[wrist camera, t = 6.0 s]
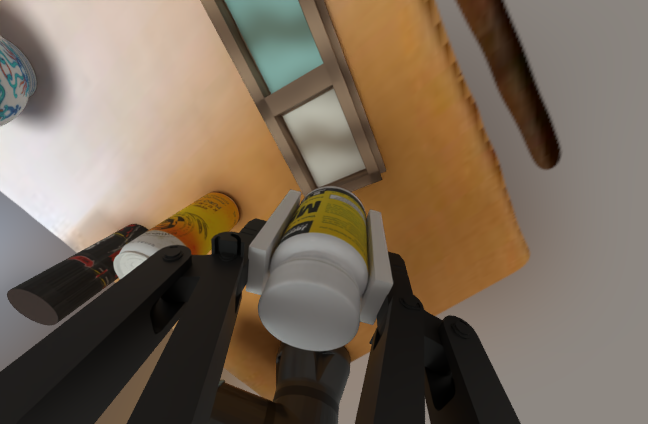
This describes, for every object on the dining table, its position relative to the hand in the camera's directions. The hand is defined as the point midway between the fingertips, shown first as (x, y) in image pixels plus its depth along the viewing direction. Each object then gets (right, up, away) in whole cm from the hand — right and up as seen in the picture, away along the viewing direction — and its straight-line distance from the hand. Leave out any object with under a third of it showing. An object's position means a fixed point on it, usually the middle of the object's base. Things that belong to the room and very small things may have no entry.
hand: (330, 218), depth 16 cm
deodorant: (-33, -4, +25) cm, 41 cm away
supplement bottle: (0, 0, 0) cm, 1 cm away
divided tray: (-3, +14, +11) cm, 18 cm away
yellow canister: (-16, +1, +20) cm, 25 cm away
